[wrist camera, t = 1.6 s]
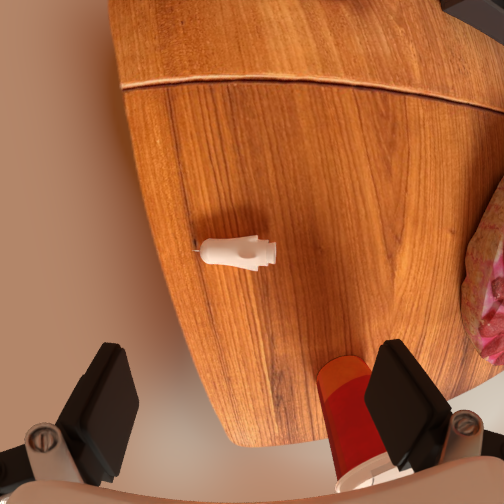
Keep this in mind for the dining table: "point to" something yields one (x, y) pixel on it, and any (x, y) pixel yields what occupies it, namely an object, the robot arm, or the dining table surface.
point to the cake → (486, 283)
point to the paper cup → (353, 426)
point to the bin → (479, 15)
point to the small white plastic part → (239, 252)
